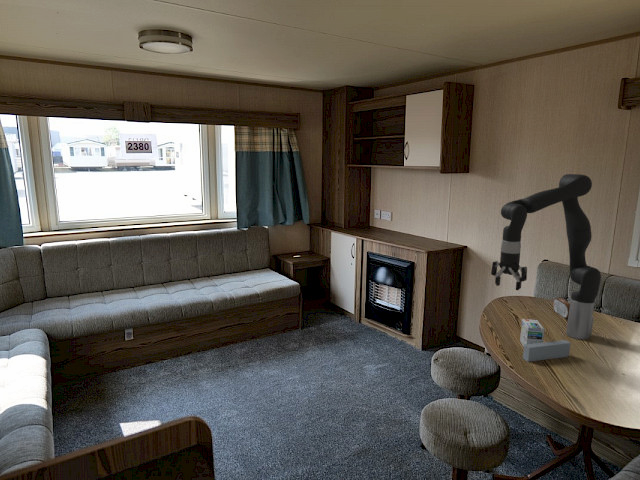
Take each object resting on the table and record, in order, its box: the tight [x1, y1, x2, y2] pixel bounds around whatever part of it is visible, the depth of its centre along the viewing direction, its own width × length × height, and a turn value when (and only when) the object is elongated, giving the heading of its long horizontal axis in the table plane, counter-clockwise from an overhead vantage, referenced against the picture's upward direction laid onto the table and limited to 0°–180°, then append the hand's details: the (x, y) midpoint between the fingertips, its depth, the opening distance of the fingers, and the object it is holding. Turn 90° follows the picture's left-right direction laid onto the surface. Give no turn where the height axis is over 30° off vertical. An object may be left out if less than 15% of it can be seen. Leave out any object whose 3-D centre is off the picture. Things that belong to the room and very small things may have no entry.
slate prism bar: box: [522, 339, 571, 363], centre depth 176 cm, size 20×3×6 cm, turn 105°
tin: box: [552, 297, 570, 320], centre depth 223 cm, size 15×3×8 cm, turn 179°
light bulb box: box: [519, 318, 545, 348], centre depth 186 cm, size 11×7×11 cm, turn 168°
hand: (507, 287), depth 185 cm, fingers open, 8 cm apart
